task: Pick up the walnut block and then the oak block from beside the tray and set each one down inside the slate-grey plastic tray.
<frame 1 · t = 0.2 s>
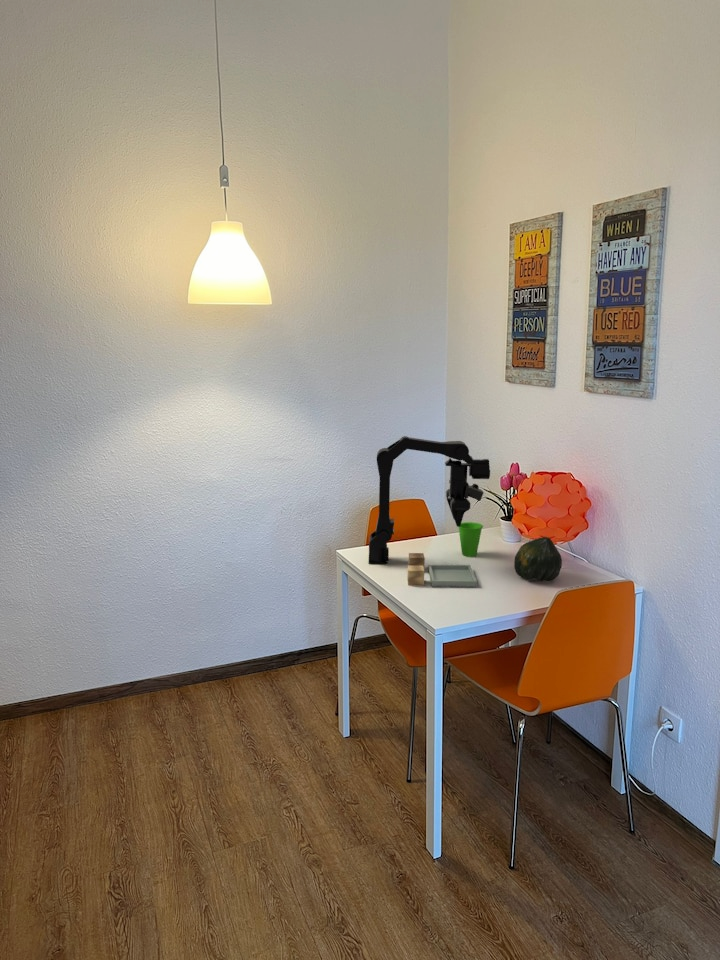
hand: (456, 522, 240), 14 cm above the table, fingers open, 9 cm apart
oak block: (415, 582, 223), on the table
tray: (451, 578, 227), on the table
cup: (469, 555, 251), on the table
squash: (537, 578, 227), on the table
walnut block: (416, 569, 236), on the table
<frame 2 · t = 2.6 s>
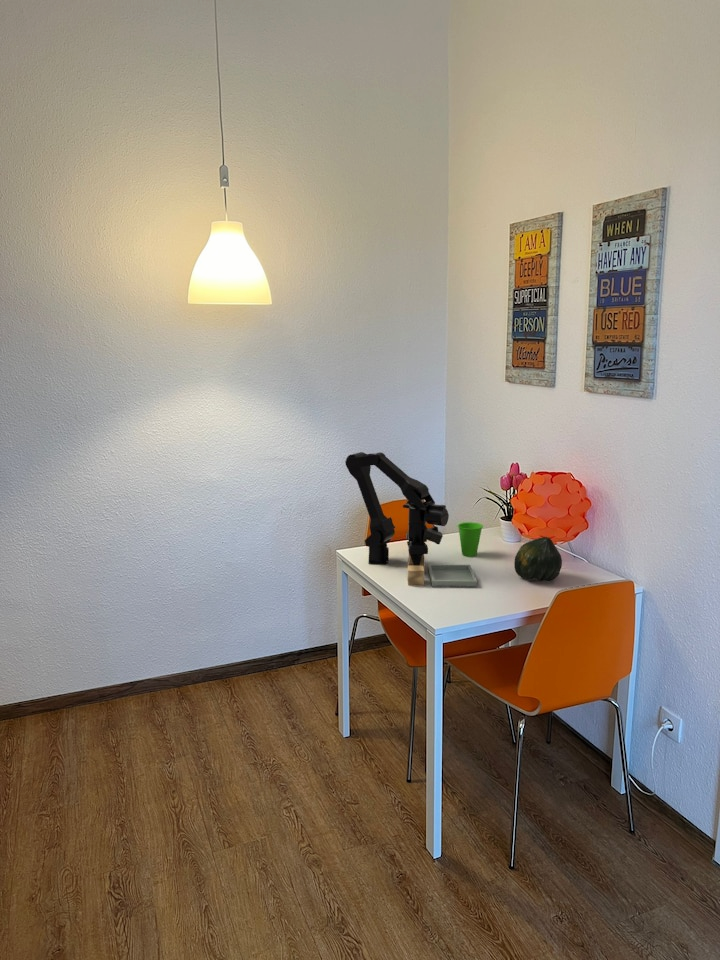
hand: (416, 566, 235), 1 cm above the table, fingers closed on walnut block, 5 cm apart
walnut block: (416, 569, 236), on the table, touching gripper
everything else where it was.
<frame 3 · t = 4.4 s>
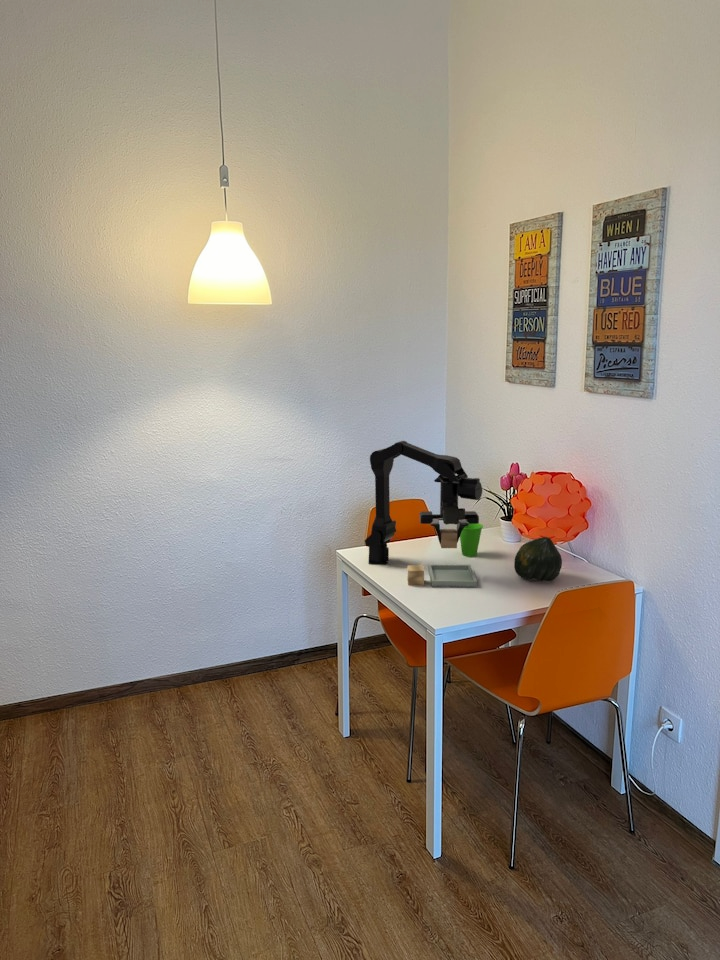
hand: (448, 542, 227), 11 cm above the table, fingers closed on walnut block, 5 cm apart
walnut block: (448, 545, 227), point 10 cm above the table, touching gripper
everything else where it was.
when the fingers open (3 cm above the table, at t = 6.2 s): walnut block drops 1 cm, resting on tray.
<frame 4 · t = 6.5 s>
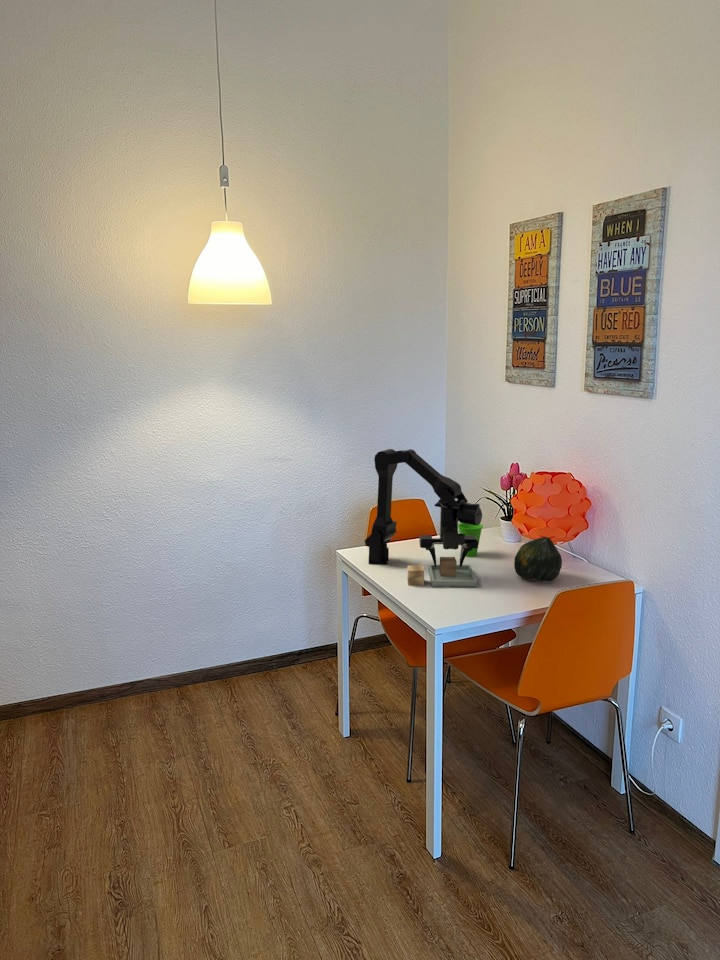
hand: (447, 566, 229), 3 cm above the table, fingers open, 8 cm apart
walnut block: (447, 573, 229), point 1 cm above the table, touching tray
everything else where it was.
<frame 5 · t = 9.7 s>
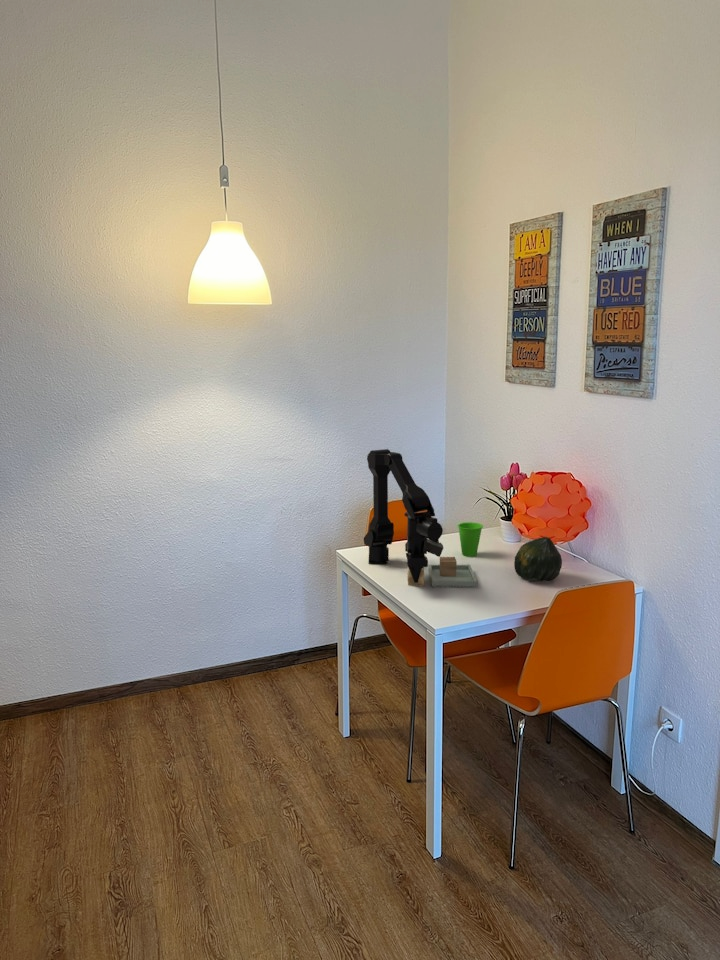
hand: (415, 579, 223), 1 cm above the table, fingers closed on oak block, 5 cm apart
oak block: (415, 582, 223), on the table, touching gripper
everything else where it was.
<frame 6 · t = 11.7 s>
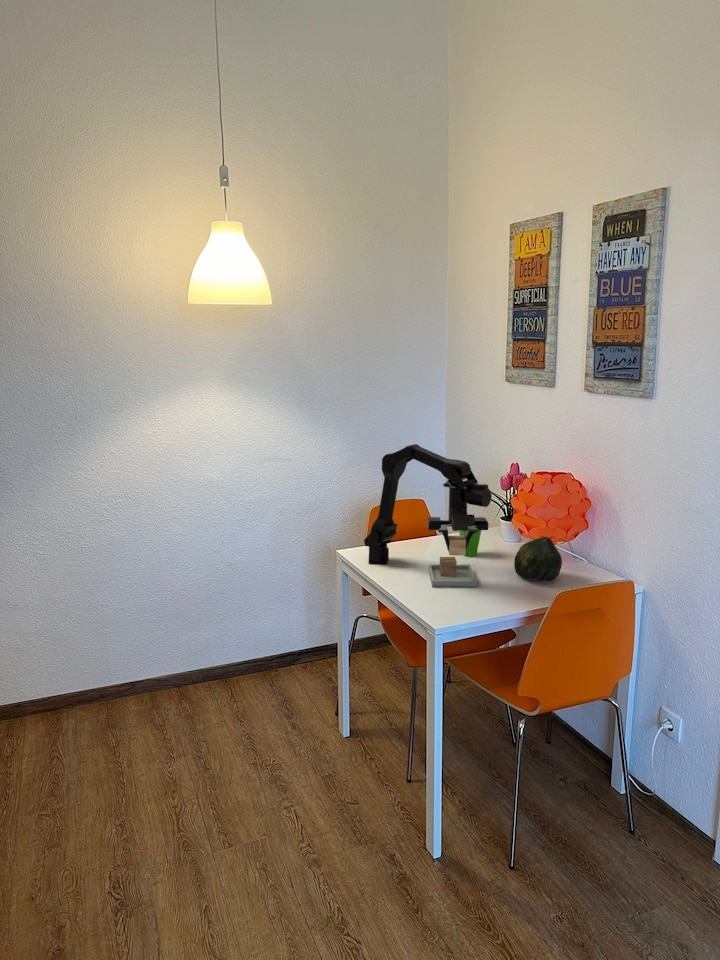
hand: (456, 549, 221), 11 cm above the table, fingers closed on oak block, 5 cm apart
oak block: (456, 552, 221), point 10 cm above the table, touching gripper
everything else where it was.
when the fingers open (3 cm above the table, at t = 13.5 s): oak block drops 1 cm, resting on tray.
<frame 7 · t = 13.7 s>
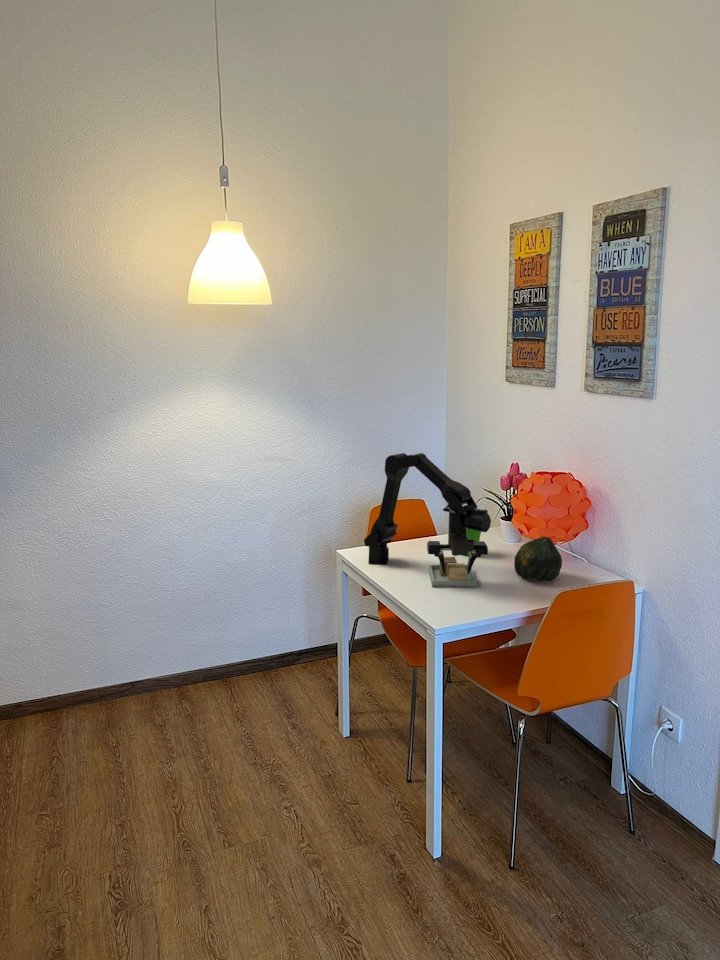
hand: (456, 573, 223), 3 cm above the table, fingers open, 7 cm apart
oak block: (456, 580, 223), point 1 cm above the table, touching tray
everything else where it was.
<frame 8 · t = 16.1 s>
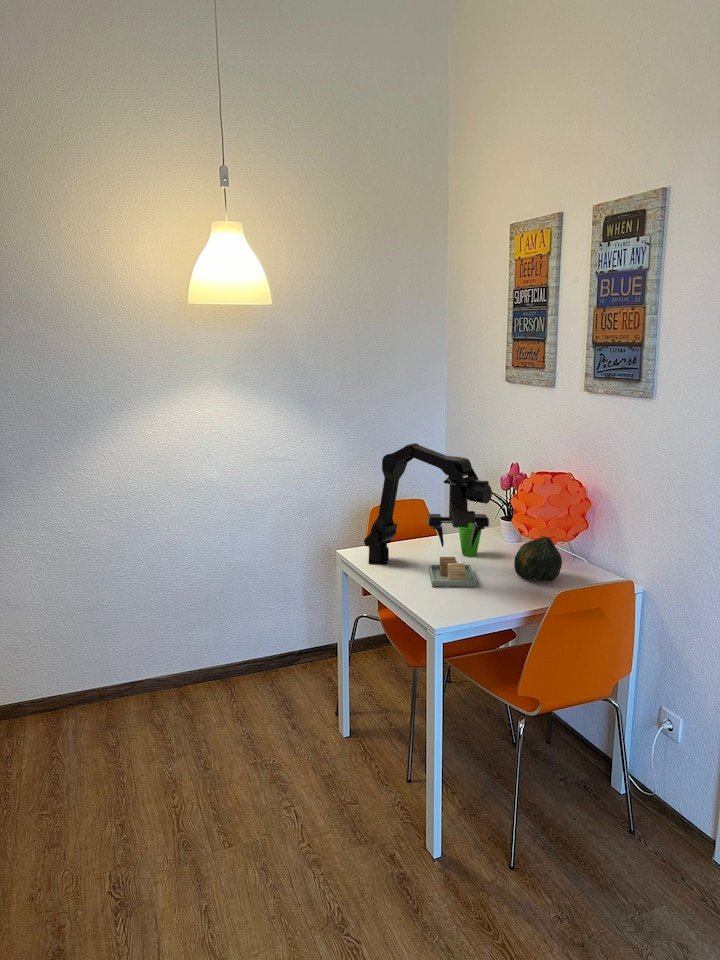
hand: (457, 546, 221), 12 cm above the table, fingers open, 9 cm apart
nothing on the table moved.
at the end: walnut block inside the target area on the tray (3.2 cm from its centre), point 0.6 cm above the tray's base; oak block inside the target area on the tray (3.6 cm from its centre), point 0.6 cm above the tray's base; the gripper is holding nothing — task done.
